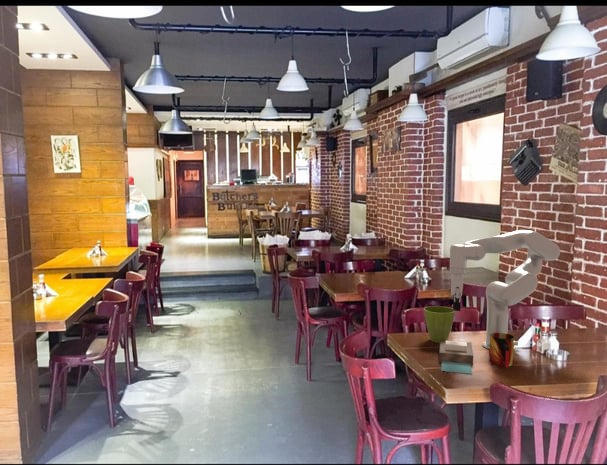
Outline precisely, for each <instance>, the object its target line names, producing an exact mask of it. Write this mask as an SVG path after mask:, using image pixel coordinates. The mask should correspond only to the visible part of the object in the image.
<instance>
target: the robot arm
mask: <svg viewBox="0 0 607 465" xmlns="http://www.w3.org/2000/svg"><path fill="white" fill-rule="evenodd" d="M519 249H527V254H526V258H525V259H526V260H524V262H522V263H521V264H520V265H519V266H517V267H516V268H514V269H513V270H511V271H509V272H508V273H507V274H506V275H505V279H504V282H503V281H498V280H497V281H492V282H490V283H489V284H487V286H486V288H485V289H486V290H485V297H486V305H487V306H486V308H487V309H486V310H487V311H486V338H485V341H483V342H482V347H484V348H485V349H487V350H490V334H491V333H506V334H509V333H508V332H509V311H510V310H509V306H514V305H517V304H518V303H520V302H521V301H523V300H525V299H526V298H527V297H529V296H530V295H531V294H533V293H534V292H535V291H536V290H537V288H538V285H539V284H538V283H539V279H538V277H537V276H538V275H539V274H540V273H541V272H542V268H543V261H548V262H549V261H550V262H552V261H556V260H557V259H558V258H559V257H560V255H561V248H560V247H559V245H558V244H557V243H556V242H554V241H553V240H550V239H549V238H547V237H546V236H544V235H543V234H541V233H539V232H537V231H534V230H528V229H519V230H514V231H511V232H508V233H504V234H500V235H495V236H489V237H484V238H479V239H474V240H470V241H466V242H464V243H462V244H457V243H456V244H452V245H451V246H450V248H449V274H450V275H451V279H450V280H451V281H450V295H451V296H453V301H452V303H453V304H452V309H453V310H454V311H455V312H461V307H462V306H461V297H463V296H462V295H463V291H464V290H463V289H464V276H466V275H467V261H476V262H477V261H481V260H483V259H484V258H485V256H486V254H494V255H495V254H505V253H508V252H513V251H515V250H519ZM514 346H519V341H516V340H514Z"/></svg>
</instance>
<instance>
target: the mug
mask: <svg viewBox="0 0 607 465" xmlns="http://www.w3.org/2000/svg"><path fill="white" fill-rule="evenodd" d="M514 341H515V336H514V335H512V334H509V333H508V334H506V333H491V334H490V349H489V358H488V362H489V363H490V364H491V363H492V364H491V365H494V366H499V367H505V368H506V369H509V367H512V366H513V365H514V350H515V349H514V347H515V345H514Z"/></svg>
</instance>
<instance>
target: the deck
mask: <svg viewBox="0 0 607 465" xmlns="http://www.w3.org/2000/svg"><path fill="white" fill-rule="evenodd" d="M447 341H449V340H448V339H447ZM458 342H461V341H459V340H458ZM466 342H467V352H466V351H455V350H446V340H440V343H439V357H438V358H439V360H438V361H439V363H440V362H441V363H442V361H445V362H456V363H466V364H472V365H474V350H473V344H472V342H471V341H470V342H468V341H466ZM472 365H471V366H472Z"/></svg>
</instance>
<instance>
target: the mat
mask: <svg viewBox="0 0 607 465" xmlns="http://www.w3.org/2000/svg"><path fill="white" fill-rule="evenodd" d="M440 366H441V368H440V372H443V371H445V373H453V372H455V373H454V374H462V373H464V375H473V372H472V365H471V364H466V363H456V362H445V361H442V362H441V365H440Z"/></svg>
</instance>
